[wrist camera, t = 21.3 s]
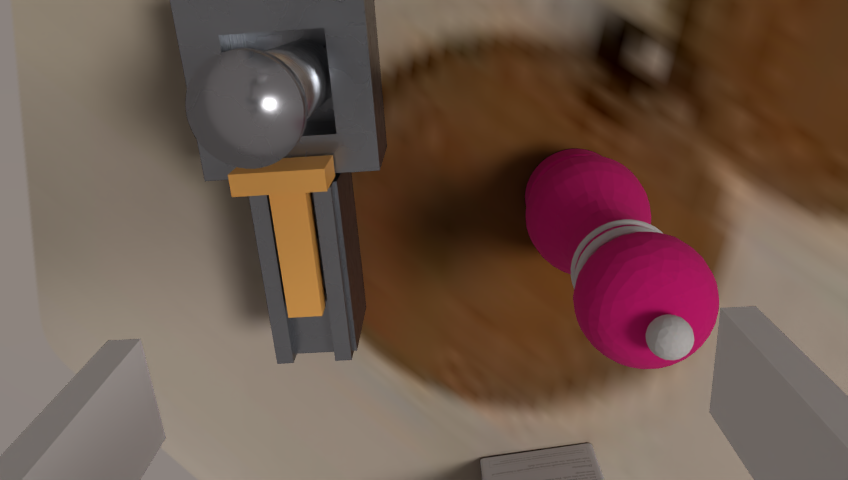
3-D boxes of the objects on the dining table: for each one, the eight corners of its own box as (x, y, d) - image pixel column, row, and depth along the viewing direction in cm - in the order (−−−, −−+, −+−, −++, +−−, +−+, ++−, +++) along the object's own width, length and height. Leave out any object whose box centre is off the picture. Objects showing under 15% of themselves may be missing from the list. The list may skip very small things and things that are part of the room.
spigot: (258, 33, 39) (174, 53, 27) (341, 28, 39) (294, 46, 26) (270, 117, 41) (197, 171, 28) (350, 112, 40) (310, 165, 28)
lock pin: (243, 160, 36) (227, 174, 33) (332, 155, 36) (324, 168, 33) (268, 308, 39) (256, 332, 37) (350, 303, 39) (344, 327, 36)
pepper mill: (562, 118, 41) (669, 223, 23) (649, 180, 43) (817, 326, 24) (495, 207, 44) (542, 370, 25) (580, 263, 45) (684, 457, 26)
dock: (206, -7, 39) (160, -7, 32) (372, -19, 39) (359, -21, 32) (262, 312, 47) (234, 365, 40) (401, 305, 46) (395, 357, 40)
